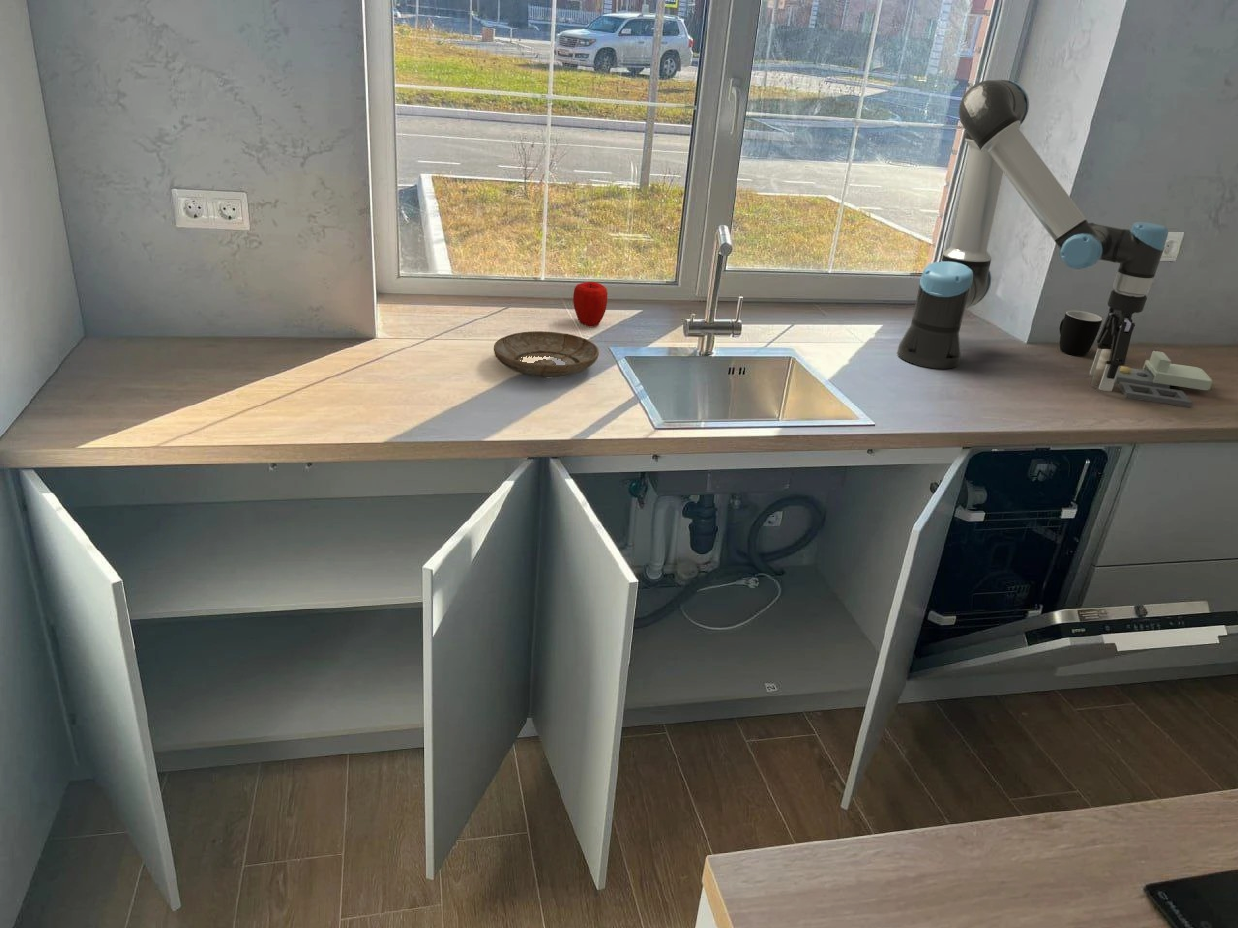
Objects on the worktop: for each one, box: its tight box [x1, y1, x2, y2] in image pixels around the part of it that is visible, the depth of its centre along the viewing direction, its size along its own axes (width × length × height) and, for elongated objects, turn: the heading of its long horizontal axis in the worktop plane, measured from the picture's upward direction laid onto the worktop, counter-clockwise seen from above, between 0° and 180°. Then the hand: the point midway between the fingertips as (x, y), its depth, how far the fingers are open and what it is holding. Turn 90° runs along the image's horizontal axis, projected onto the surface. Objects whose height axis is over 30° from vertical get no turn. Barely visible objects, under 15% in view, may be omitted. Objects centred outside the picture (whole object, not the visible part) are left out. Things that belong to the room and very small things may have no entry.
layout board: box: [1114, 365, 1171, 389], centre depth 227 cm, size 12×9×3 cm
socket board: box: [1117, 382, 1193, 408], centre depth 218 cm, size 14×8×1 cm, turn 75°
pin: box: [1090, 349, 1111, 390], centre depth 219 cm, size 4×4×9 cm
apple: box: [572, 281, 608, 327], centre depth 233 cm, size 9×9×11 cm
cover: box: [1142, 350, 1214, 391], centre depth 224 cm, size 13×10×5 cm
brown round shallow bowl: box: [493, 330, 600, 378], centre depth 204 cm, size 23×24×5 cm
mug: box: [1059, 310, 1103, 357], centre depth 244 cm, size 12×9×10 cm
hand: (1100, 382), depth 220 cm, fingers open, 10 cm apart
